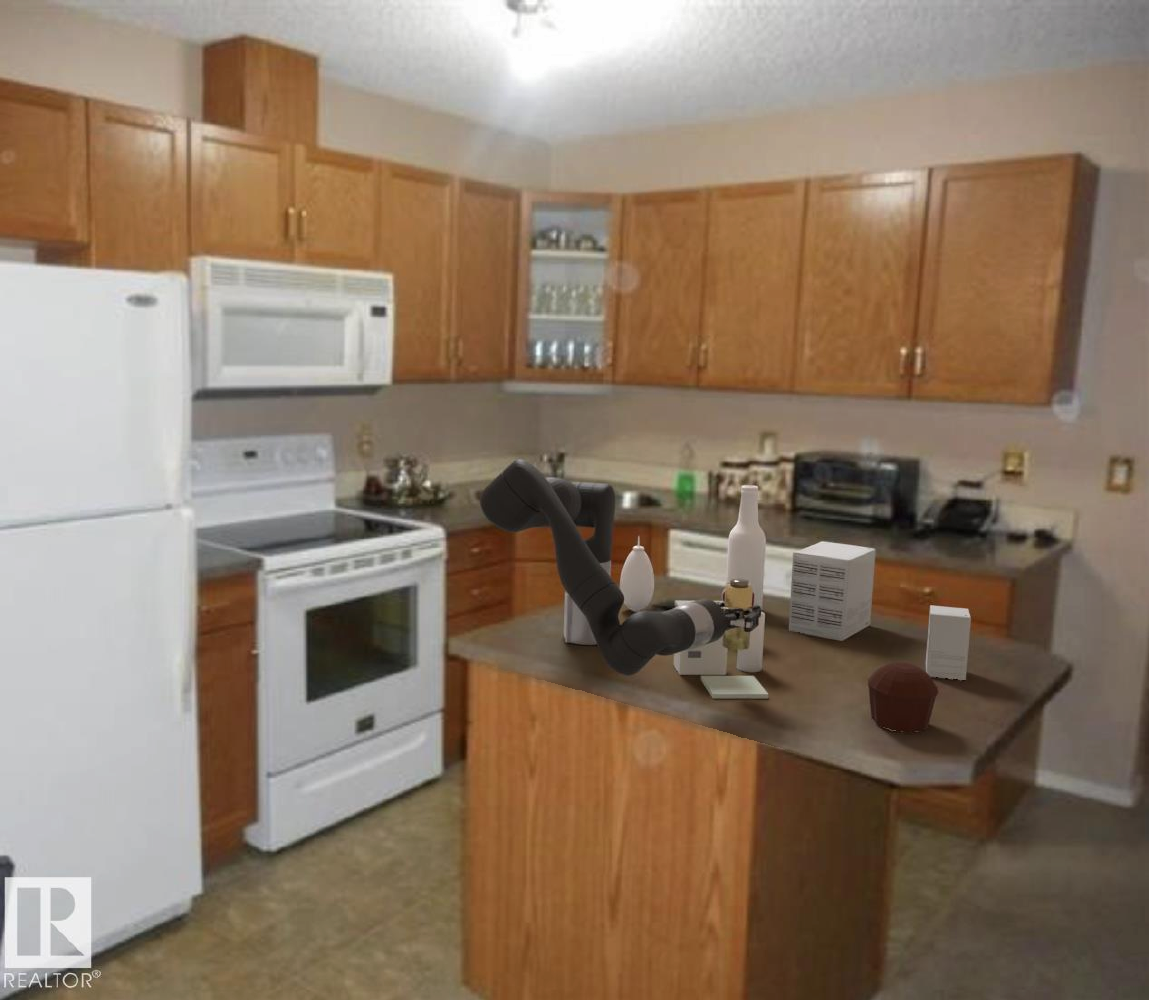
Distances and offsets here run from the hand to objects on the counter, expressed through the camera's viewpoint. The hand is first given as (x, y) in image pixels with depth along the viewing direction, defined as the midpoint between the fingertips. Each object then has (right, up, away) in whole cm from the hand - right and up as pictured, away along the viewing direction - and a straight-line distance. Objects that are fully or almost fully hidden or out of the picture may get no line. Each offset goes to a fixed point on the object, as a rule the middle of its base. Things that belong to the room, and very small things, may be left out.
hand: (745, 608), depth 178 cm
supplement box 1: (+26, -10, +44) cm, 52 cm away
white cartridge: (+3, -13, +13) cm, 19 cm away
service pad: (-2, -15, +1) cm, 15 cm away
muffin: (+23, -18, -14) cm, 33 cm away
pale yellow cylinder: (-2, -7, -1) cm, 7 cm away
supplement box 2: (+41, -14, +13) cm, 45 cm away
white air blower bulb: (-16, -7, +54) cm, 57 cm away
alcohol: (+9, -7, +57) cm, 58 cm away
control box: (-7, -13, +11) cm, 18 cm away
